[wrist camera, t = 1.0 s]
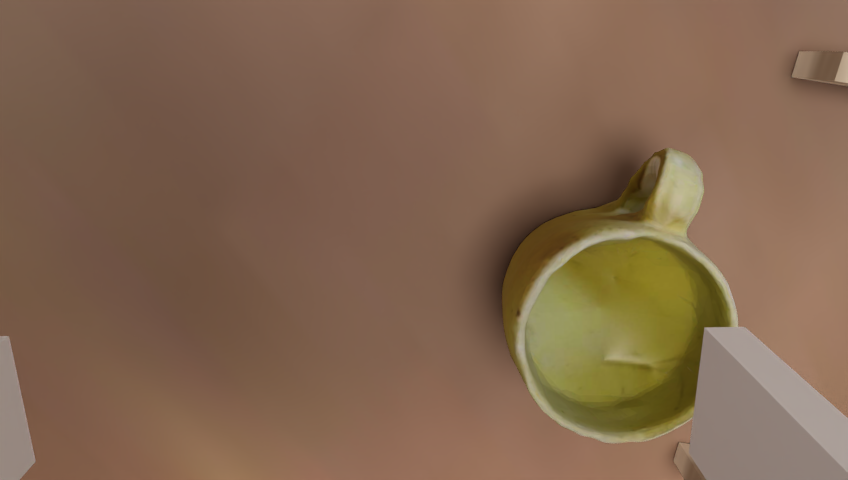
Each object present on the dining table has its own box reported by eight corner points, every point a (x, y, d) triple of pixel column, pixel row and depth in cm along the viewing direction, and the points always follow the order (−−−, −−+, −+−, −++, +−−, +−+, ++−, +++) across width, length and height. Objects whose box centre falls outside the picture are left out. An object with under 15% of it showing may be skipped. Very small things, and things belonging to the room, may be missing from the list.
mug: (637, 439, 35) (670, 506, 25) (470, 335, 37) (439, 359, 27) (762, 237, 34) (846, 224, 24) (584, 142, 36) (596, 95, 26)
